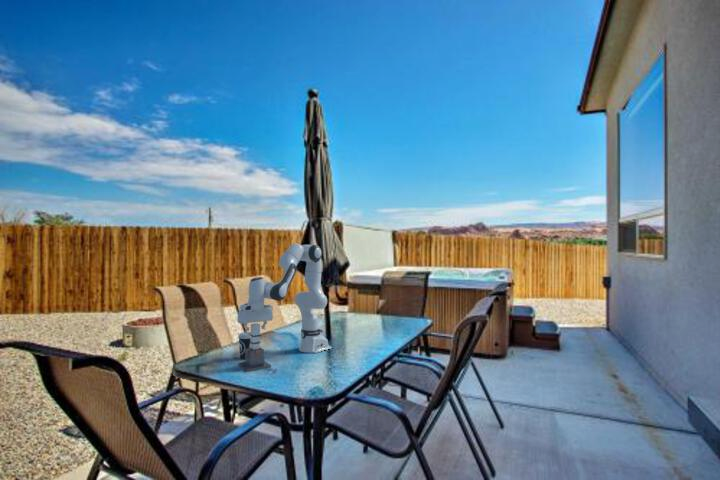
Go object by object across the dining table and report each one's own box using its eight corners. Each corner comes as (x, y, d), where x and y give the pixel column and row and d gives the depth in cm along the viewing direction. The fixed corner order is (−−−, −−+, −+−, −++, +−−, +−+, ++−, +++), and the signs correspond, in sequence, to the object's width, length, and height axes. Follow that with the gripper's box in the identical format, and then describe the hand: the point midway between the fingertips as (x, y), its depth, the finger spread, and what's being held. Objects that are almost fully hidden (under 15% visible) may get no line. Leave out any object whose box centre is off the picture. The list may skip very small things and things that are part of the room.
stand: (260, 361, 218) (261, 344, 218) (270, 367, 207) (271, 349, 207) (237, 365, 209) (238, 348, 210) (246, 372, 198) (247, 353, 199)
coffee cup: (248, 360, 219) (249, 335, 219) (234, 359, 221) (235, 334, 221) (256, 356, 228) (257, 332, 229) (242, 355, 230) (243, 331, 230)
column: (256, 351, 212) (257, 323, 212) (259, 352, 208) (260, 324, 209) (249, 352, 209) (250, 323, 209) (252, 353, 205) (253, 325, 206)
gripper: (270, 303, 218) (269, 326, 218) (236, 306, 206) (236, 330, 205) (275, 305, 213) (274, 328, 213) (240, 307, 201) (240, 332, 200)
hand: (255, 329), depth 209 cm, fingers open, 8 cm apart
